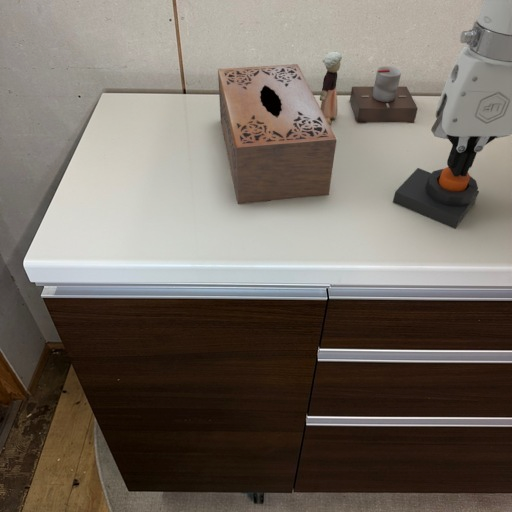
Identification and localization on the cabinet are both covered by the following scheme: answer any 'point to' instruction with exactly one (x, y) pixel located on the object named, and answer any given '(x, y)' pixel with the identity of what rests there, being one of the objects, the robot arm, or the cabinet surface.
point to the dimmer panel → (382, 106)
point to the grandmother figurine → (330, 86)
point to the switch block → (435, 197)
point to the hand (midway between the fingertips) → (456, 170)
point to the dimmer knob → (386, 84)
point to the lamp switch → (453, 181)
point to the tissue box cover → (274, 134)
